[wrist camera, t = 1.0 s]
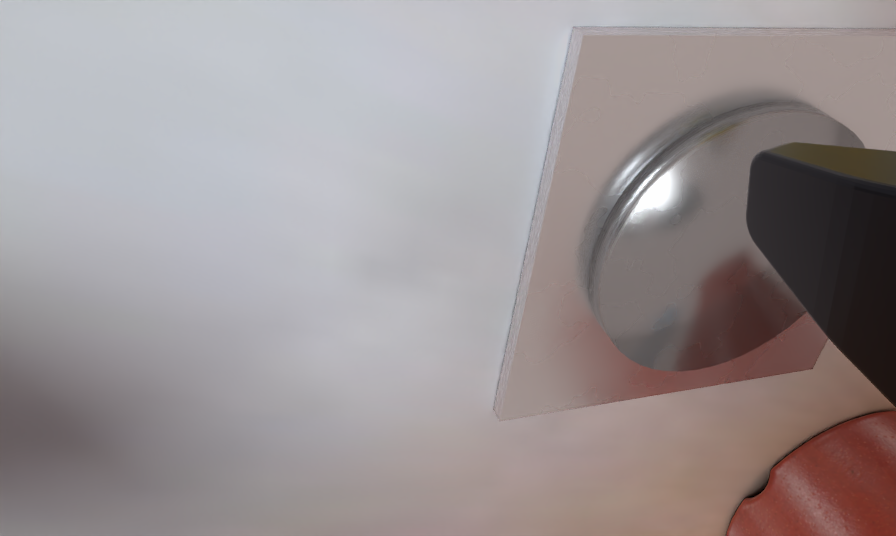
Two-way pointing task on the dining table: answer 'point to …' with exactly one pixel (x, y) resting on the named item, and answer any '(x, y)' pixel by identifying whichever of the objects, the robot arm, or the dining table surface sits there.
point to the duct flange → (677, 208)
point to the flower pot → (830, 485)
